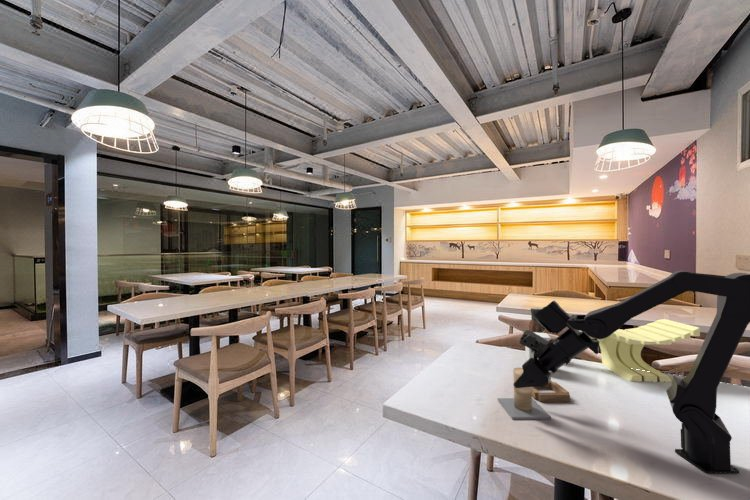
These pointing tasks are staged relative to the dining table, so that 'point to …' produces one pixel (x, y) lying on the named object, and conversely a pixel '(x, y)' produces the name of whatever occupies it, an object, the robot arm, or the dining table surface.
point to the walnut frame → (551, 393)
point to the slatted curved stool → (627, 345)
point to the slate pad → (514, 413)
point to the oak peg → (522, 393)
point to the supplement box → (529, 352)
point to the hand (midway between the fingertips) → (519, 380)
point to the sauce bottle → (536, 322)
